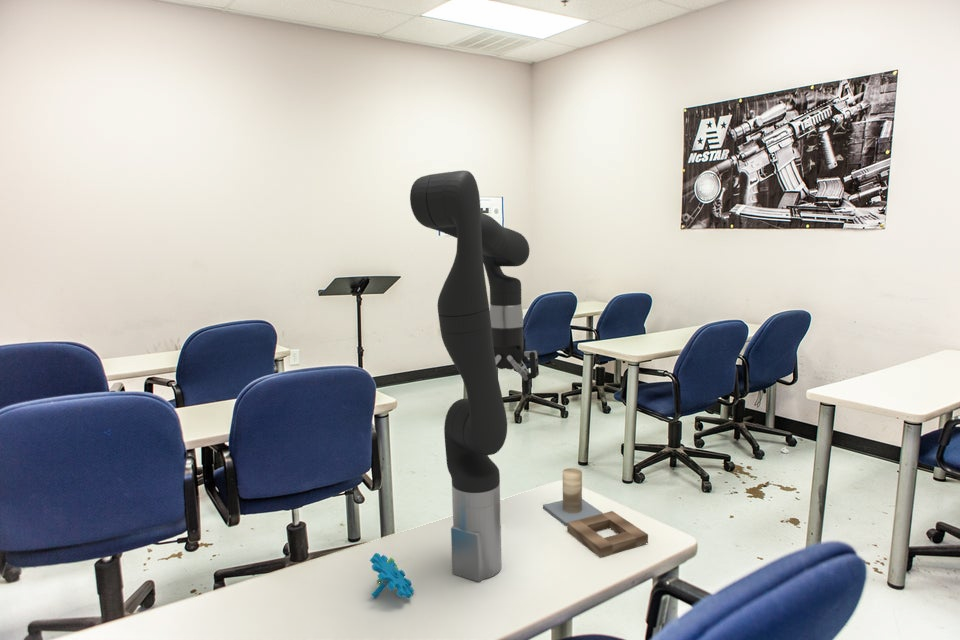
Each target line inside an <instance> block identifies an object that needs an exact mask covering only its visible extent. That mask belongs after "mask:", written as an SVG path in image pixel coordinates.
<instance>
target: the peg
mask: <svg viewBox="0 0 960 640" xmlns="http://www.w3.org/2000/svg"><path fill="white" fill-rule="evenodd" d="M582 499H583V471H582V470H581V469H578V468H575V467H570V468H564V469H563V470H562V500H563V510H564V511H565V512H568V513H579V512H581V511H582Z"/></svg>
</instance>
